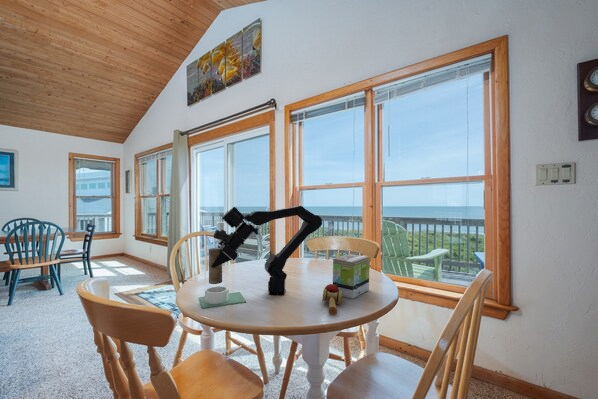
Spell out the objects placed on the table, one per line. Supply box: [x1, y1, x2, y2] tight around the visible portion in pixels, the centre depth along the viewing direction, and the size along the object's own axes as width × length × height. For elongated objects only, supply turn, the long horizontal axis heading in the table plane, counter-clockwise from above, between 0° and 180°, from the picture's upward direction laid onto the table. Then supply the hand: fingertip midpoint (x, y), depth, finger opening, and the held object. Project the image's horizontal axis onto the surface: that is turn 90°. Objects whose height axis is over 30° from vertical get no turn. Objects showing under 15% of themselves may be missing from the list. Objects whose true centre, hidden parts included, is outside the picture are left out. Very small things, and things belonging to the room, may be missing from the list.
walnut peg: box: [208, 247, 223, 285], centre depth 110 cm, size 5×5×13 cm
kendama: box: [321, 283, 342, 316], centre depth 104 cm, size 8×6×18 cm
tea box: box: [332, 253, 370, 300], centre depth 119 cm, size 15×10×15 cm, turn 143°
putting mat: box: [198, 285, 247, 309], centre depth 109 cm, size 16×12×4 cm
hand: (211, 265), depth 110 cm, fingers closed on walnut peg, 5 cm apart
